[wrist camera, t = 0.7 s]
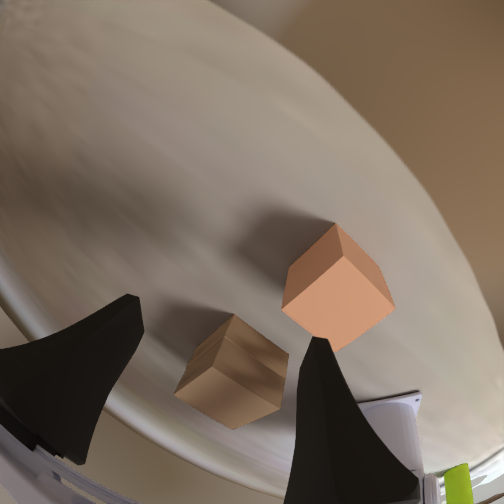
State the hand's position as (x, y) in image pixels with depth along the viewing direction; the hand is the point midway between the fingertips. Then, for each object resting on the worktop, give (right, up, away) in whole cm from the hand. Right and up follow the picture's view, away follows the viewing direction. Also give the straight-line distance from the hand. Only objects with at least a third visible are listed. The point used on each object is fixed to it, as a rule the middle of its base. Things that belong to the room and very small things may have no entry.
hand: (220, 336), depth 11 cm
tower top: (0, -7, +10) cm, 12 cm away
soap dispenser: (+44, -43, +21) cm, 65 cm away
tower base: (0, -5, +13) cm, 14 cm away
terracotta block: (+7, +2, +8) cm, 11 cm away
